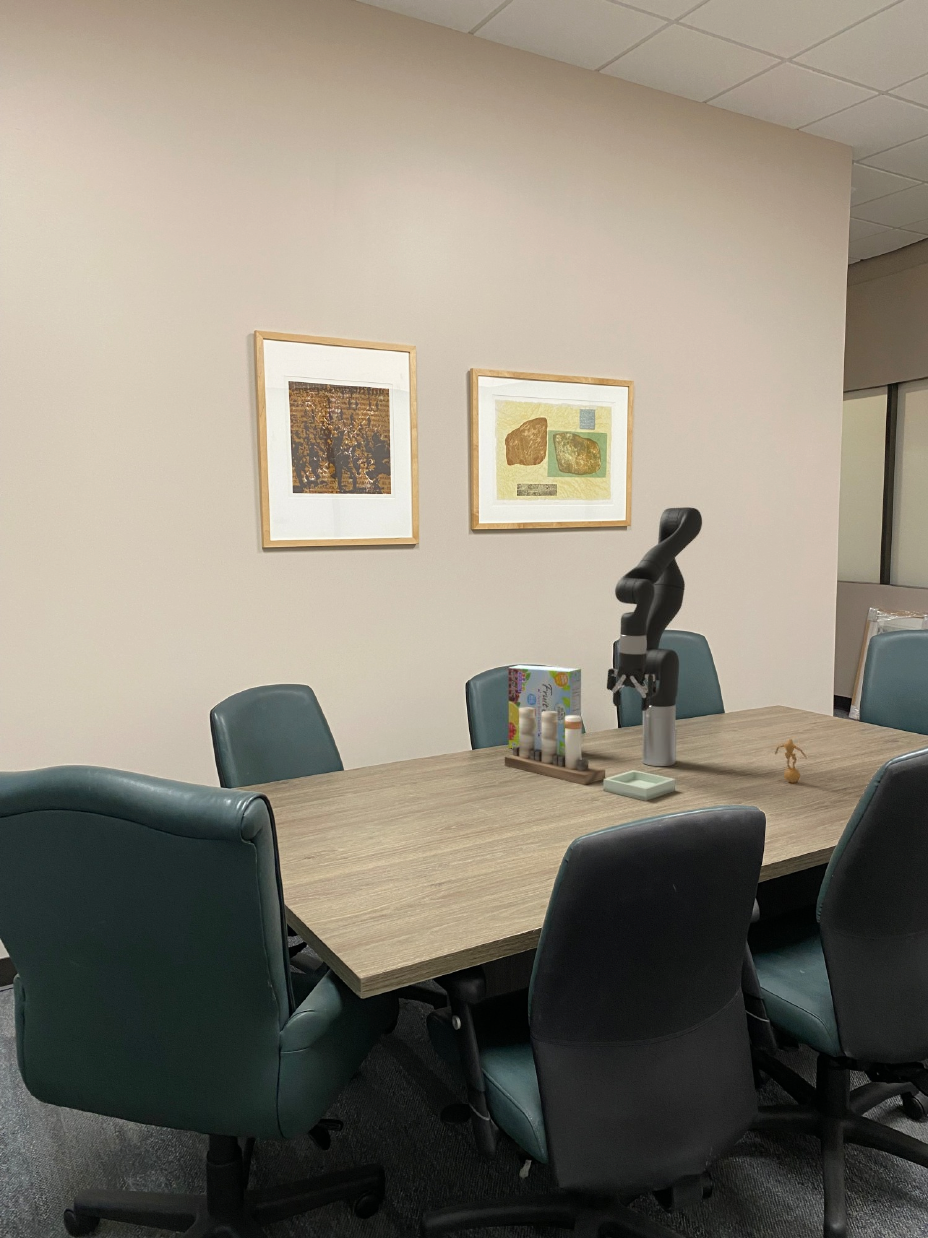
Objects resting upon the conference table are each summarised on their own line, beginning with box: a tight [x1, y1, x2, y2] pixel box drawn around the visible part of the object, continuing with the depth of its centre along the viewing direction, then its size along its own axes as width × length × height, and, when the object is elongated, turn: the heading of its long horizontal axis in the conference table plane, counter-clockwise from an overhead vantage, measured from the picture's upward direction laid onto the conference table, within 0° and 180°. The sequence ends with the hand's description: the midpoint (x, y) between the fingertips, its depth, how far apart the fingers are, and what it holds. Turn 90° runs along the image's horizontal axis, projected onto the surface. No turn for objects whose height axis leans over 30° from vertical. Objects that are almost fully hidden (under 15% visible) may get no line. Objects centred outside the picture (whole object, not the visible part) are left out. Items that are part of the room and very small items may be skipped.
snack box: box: [507, 664, 582, 755], centre depth 269 cm, size 22×9×26 cm, turn 58°
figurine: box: [774, 738, 808, 784], centre depth 230 cm, size 8×6×12 cm
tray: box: [602, 769, 676, 802], centre depth 225 cm, size 13×13×3 cm
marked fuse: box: [565, 715, 583, 769], centre depth 239 cm, size 5×5×14 cm
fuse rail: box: [504, 707, 606, 785], centre depth 244 cm, size 9×29×16 cm, turn 44°
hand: (630, 708), depth 244 cm, fingers open, 8 cm apart
